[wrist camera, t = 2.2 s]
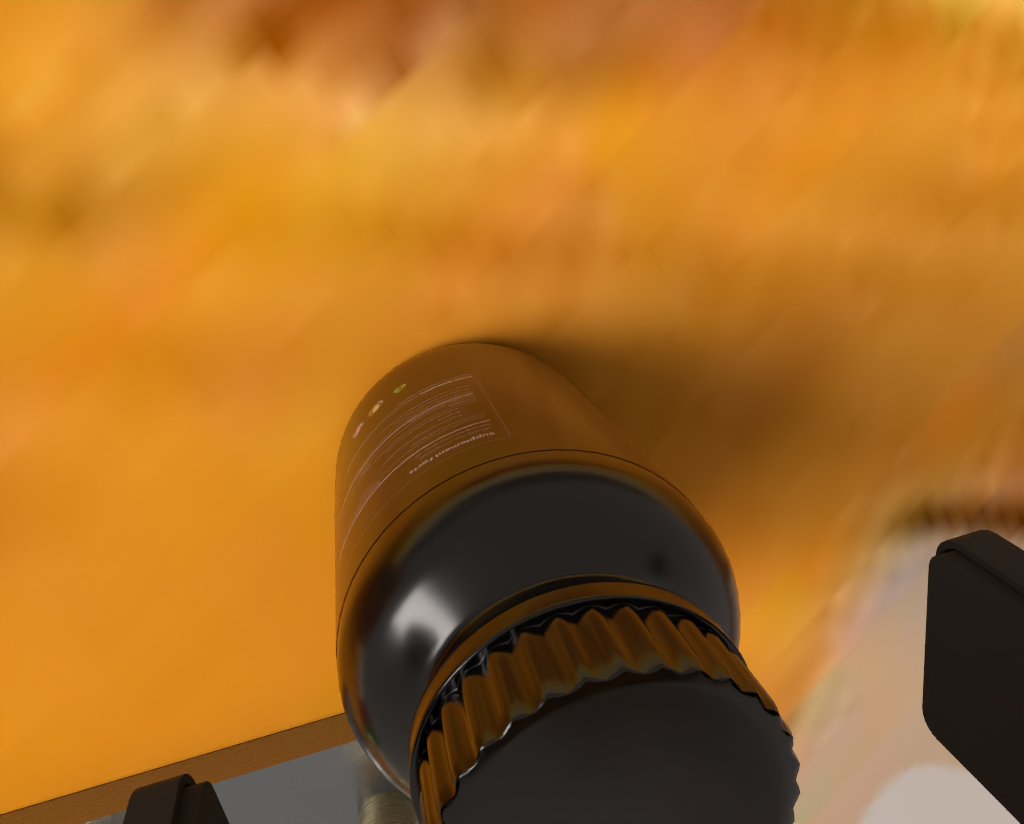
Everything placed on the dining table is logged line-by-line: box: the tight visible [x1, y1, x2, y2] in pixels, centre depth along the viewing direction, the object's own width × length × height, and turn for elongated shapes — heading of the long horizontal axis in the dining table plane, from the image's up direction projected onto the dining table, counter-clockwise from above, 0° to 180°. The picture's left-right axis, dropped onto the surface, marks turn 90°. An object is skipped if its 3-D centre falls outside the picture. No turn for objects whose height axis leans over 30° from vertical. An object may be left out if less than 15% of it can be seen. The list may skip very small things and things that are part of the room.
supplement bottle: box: [335, 343, 800, 824], centre depth 15 cm, size 7×7×12 cm
